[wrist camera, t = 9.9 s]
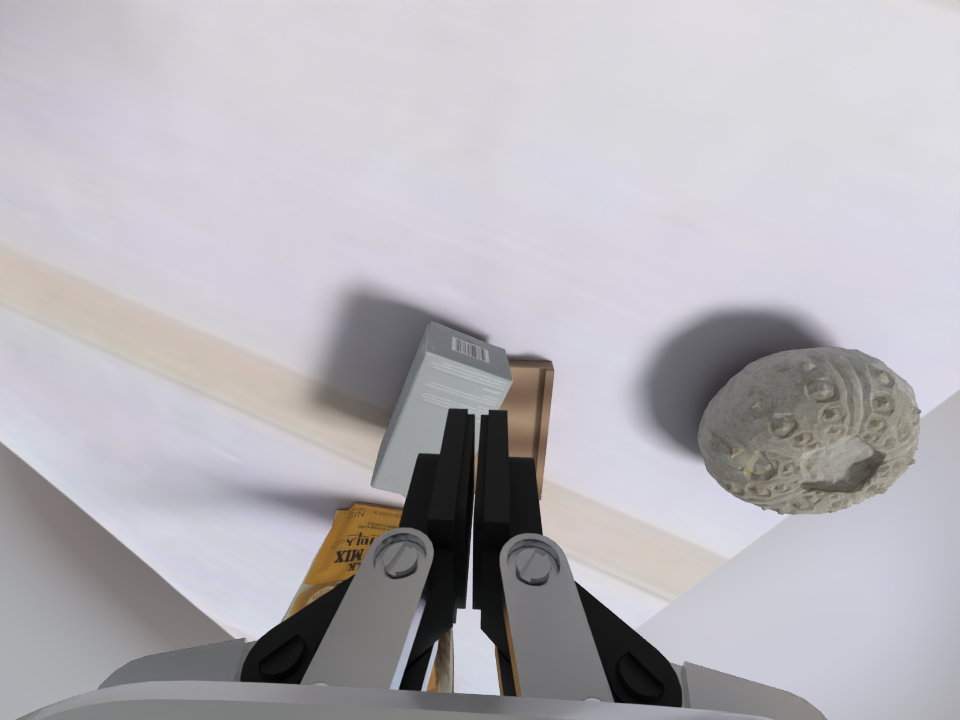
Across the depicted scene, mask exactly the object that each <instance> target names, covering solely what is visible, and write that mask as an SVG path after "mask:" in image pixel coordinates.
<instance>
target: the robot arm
mask: <svg viewBox="0 0 960 720" xmlns="http://www.w3.org/2000/svg"><path fill="white" fill-rule="evenodd" d="M474 473H475V414H468V409H458V408H449V410H448V414H447V419H446V424H445V430H444V435H443V440H442V445H441V450H440V454H431V453H419V454H418V456H417V459H416V463H415V467H414V471H413V474H412V478H411V482H410V486H409V490H408V493H407V497H406V501H405V505H404V508H403V512H402V516H401V520H400V523H399V527H398V528H397V529H392V530H390V531H388V532H385V533H383V534H382V535H380V536H379V537H378V538H377V539H376V540H374V541H373V543H372V544H371V546H370V547H369V549H368V550H367V552H366V554H365V556H364V558H363V560H362V562H361V564H360V566H359V568H358V570H357V572H356V573H355V574H354V575H352V576H351V577H349V578H348V579H346V580H345V581H343V582H342V583H340V584H339V585H337V586H336V587H334V588H333V589H331V590H330V591H328V592H327V593H325V594H324V595H322V596H321V597H319V598H318V599H316V600H315V601H313V602H312V603H310V604H309V605H307V606H306V607H304V608H303V609H301V610H300V611H298V612H297V613H295V614H294V615H292V616H291V617H289V618H288V619H286V620H285V621H283V622H282V623H280V624H279V625H277V626H276V627H274V628H273V629H271V630H270V631H268V632H267V633H266V634H265V635H264V636H262V637H261V638H260V639H259V640H258V641H253V642H247V640H246V638H240V639H235V640H229V641H224V642H219V643H214V644H208V645H202V646H197V647H192V648H186V649H181V650H175V651H170V652H165V653H159V654H154V655H149V656H144V657H142V658H139V659H136V660H133V661H130V662H129V663H127V664H125V665H124V666H122V667H121V668H119V669H118V670H116V671H115V672H114V673H112V674H111V675H110V676H109V677H108V678H107V679H106V680H105V681H104V682H103V683H102V684H101V685H100V686H99V688H98V689H97V690H95V691H92V692H88V693H84V694H81V695H77V696H74V697H71V698H68V699H65V700H62V701H59V702H57V703H54V704H51V705H48V706H45V707H44V708H41V709H38V710H36V711H34V712H31V713H29V714H27V715H25V716H22V717H20V718H18V719H17V720H827V719H826V718H825V716H824V715H823V714H822V713H821V712H820V711H819V710H818V709H817V708H815V707H814V706H813V705H811V704H810V703H809V702H808V701H806V700H805V699H803V698H801V697H799V696H797V695H794V694H792V693H790V692H787V691H784V690H780V689H777V688H774V687H770V686H767V685H764V684H760V683H757V682H753V681H750V680H746V679H743V678H740V677H736V676H733V675H730V674H726V673H723V672H719V671H716V670H712V669H709V668H705V667H702V666H699V665H695V664H692V663H689V662H684V664H683V666H680V665H677V664H673V663H670V662H669V661H668V660H667V659H666V658H665V657H664V656H663V655H662V654H661V653H660V652H659V651H658V650H657V649H656V648H655V647H653V646H652V645H651V644H650V643H649V642H647V641H646V640H645V639H643V637H641V636H640V635H639V634H638V633H637V632H635V631H634V630H633V629H632V628H631V627H629V626H628V625H627V624H626V623H625V622H623V621H622V620H621V619H620V618H619V617H618V616H616V615H615V614H614V613H613V612H612V611H610V610H609V609H608V608H607V607H606V606H604V605H603V604H602V603H601V602H600V601H598V600H597V599H596V598H595V597H594V596H592V595H591V594H590V593H589V592H588V591H586V590H585V589H584V588H583V587H582V586H580V585H579V584H578V583H577V582H576V581H574V579H573V576H572V573H571V570H570V567H569V564H568V561H567V558H566V556H565V554H564V552H563V550H562V549H561V548H560V547H559V546H558V545H557V544H556V542H554V541H553V540H551V539H549V538H548V537H546V536H543V533H542V524H541V515H540V506H539V497H538V488H537V479H536V469H535V461H534V458H532V457H509V447H508V412H507V410H489V412H488V415H484V414H481V421H480V435H479V449H478V463H477V477H476V491H475V505H474V523H473V609H479V610H481V630H482V631H483V632H484V633H485V634H486V635H487V636H488V637H489V639H490V640H491V641H492V642H493V643H494V644H495V657H496V665H497V672H498V680H499V688H500V696H496V695H479V694H462V693H445V692H427V691H426V690H427V686H428V683H429V679H430V675H431V671H432V668H433V664H434V660H435V656H436V653H437V648H438V640H439V639H440V638H441V637H442V636H443V635H444V634H445V633H446V632H448V631H449V630H450V629H451V628H452V627H453V623H456V614H457V608H459V609H465V608H466V596H467V582H468V569H469V556H470V542H471V529H472V515H473V502H474Z"/></svg>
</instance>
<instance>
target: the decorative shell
mask: <svg viewBox="0 0 960 720" xmlns="http://www.w3.org/2000/svg"><path fill="white" fill-rule="evenodd" d="M919 413H921V410H919V409H918V405H917V403H916V399H915V394H914V391H913V388H912V387H911V386H910V385H909V384H908V383H907V381H905V380H904V379H902V378H901V377H900V376H898V375H897V374H896V373H895V372H894V371H892V370H891V369H890V368H888V367H887V366H886V365H885V364H884V363H883V362H882V361H880V360H878V359H877V358H874V357H871V356H869V355H867V354H865V353H863V352H861V351H859V350H851V349H844V348H836V347H818V348H808V349H794V350H788V351H781V352H778V353H774V354H771V355H768V356H766V357H762V358H759V359H758V360H756V361H753V362H751V363H749V364H748V365H746V366H745V367H744V369H743V370H741V371H740V372H739V373H737V374H736V375H735V376H733V377H732V378H731V379H729V380H728V382H727V384H726V385H725V386H723V387H722V388H721V389H720V390H719V391H718V392H717V394H716V395H715V396H714V397H713V398H712V399H711V401H710V402H709V404H708V406H707V408H706V409H705V410H704V413H703V417H702V418H701V421H700V425H699V428H698V438H697V441H698V444H699V448H700V452H701V456H702V458H703V460H704V462H705V466H706V469H707V471H708V472H709V474H710V475H711V476H712V477H713V478H714V479H715V480H716V481H717V482H718V483H719V484H720V486H721V487H723V488H724V489H725V490H726V491H728V492H730V493H731V494H732V495H733V496H735V497H737V498H739V499H741V500H743V501H745V502H748V503H752V504H754V505H757V506H759V507H761V508H762V509H763V510H767V509H769V510H773V511H777V512H778V514H782V515H783V513H785V514H793V515H795V514H823V513H827V512H829V513H832V512H836V511H838V510H841V509H846V508H848V507H850V506H851V505H852V504H859V503H861V502H863V501H864V500H865V499H867V498H870V497H872V496H874V495H876V494H883V493H884V492H886V491H887V488H888V487H890V486H891V485H892V484H894V482H895V481H896V480H897V479H898V478H899V477H900V476H901V475H902V474H903V473H904V472H905V471H906V470H907V469H908V467H909V465H912V464H915V460H914V459H913V455H914V453H915V451H916V450H917V445H918V436H919V431H920V427H919V422H920V415H919Z"/></svg>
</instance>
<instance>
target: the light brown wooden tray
mask: <svg viewBox="0 0 960 720" xmlns="http://www.w3.org/2000/svg"><path fill="white" fill-rule="evenodd" d="M508 363H509V367H510V370H511V374H512V378H513V383H512V385H511V387H510V389H509V391H508V393H507V395H506V397H505V399H504V401H503V403H502V405H501V406H500V408H499V410H507V412H508V447H509V457H532V458H534V461H535V469H536V479H537V488H538V497H539V500H541V493H542V484H543V474H544V465H545V455H546V446H547V436H548V427H549V417H550V407H551V398H552V388H553V379H554V368H553V364H552V361H524V360H508ZM477 463H478V451H477V453H476V455H475V473H474V494H475V491H476V477H477Z"/></svg>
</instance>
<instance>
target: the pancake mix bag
mask: <svg viewBox="0 0 960 720" xmlns="http://www.w3.org/2000/svg"><path fill="white" fill-rule="evenodd" d="M402 512H403V509H399V508H391V507H385V506H381V505H375V504H368V503H354V504H353V505H352V506H351V507H350V508H349V509H345V510H336V512H335V517H334V521H333V526H332V529H331V530H330V532H329V533H328V535H327V537H326V538H325V540H324V542H323V544H322V546H321V548H320V549H319V551H318V553H317V555H316V556H315V558H314V560H313V562H312V564H311V566H310V569H309V571H308V573H307V575H306V577H305V579H304V581H303V583H302V584H301V586H300V588H299V590H298V592H297V593H296V595H295V597H294V599H293V601H292V603H291V605H290V607H289V609H288V610H287V612H286V614H285V616H284V618H283V619H282V621H281V623H282V622H283V621H285V620H286V619H288V618H289V617H291V616H292V615H294V614H295V613H297V612H298V611H300V610H301V609H303V608H304V607H306V606H307V605H309V604H310V603H312V602H313V601H315V600H316V599H318V598H319V597H321V596H322V595H324V594H325V593H327V592H328V591H330V590H331V589H333V588H334V587H336V586H337V585H339V584H340V583H342V582H343V581H345V580H346V579H348V578H349V577H351V576H352V575H354V574H355V573H356V572H357V570H358V568H359V566H360V564H361V562H362V560H363V558H364V556H365V554H366V552H367V550H368V549H369V547H370V546H371V544H372V543H373V541H374V540H376V539H377V538H378V537H379V536H380V535H382V534H383V533H385V532H388V531H390V530H392V529H397V528H398V527H399V523H400V520H401V516H402ZM426 691H427V692H445V693H454V648H453V630H452V628H451V629H450V630H449V631H448V632H446V633H445V634H444V635H443V636H442V637H441V638H440V639H439V640H438V648H437V653H436V656H435V660H434V664H433V668H432V671H431V675H430V679H429V683H428V686H427V690H426Z"/></svg>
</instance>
